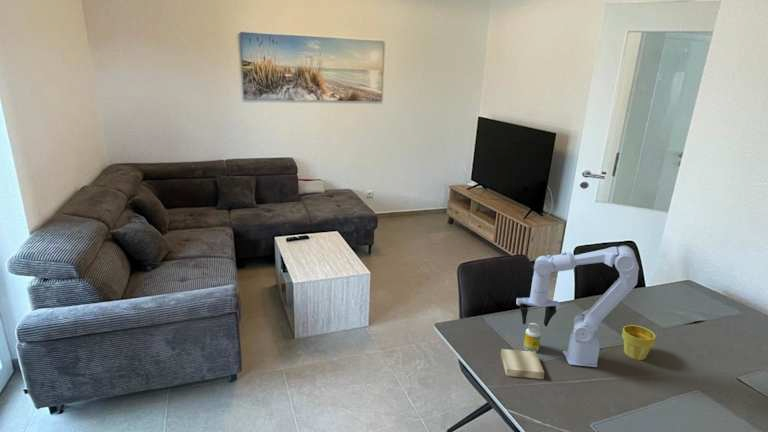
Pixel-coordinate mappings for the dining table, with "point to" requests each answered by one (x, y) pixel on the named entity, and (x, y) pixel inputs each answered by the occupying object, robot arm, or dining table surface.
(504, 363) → the oak riser
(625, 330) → the plant pot
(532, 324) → the supplement bottle
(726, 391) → the dining table surface
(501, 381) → the dining table surface
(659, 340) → the dining table surface
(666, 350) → the dining table surface
